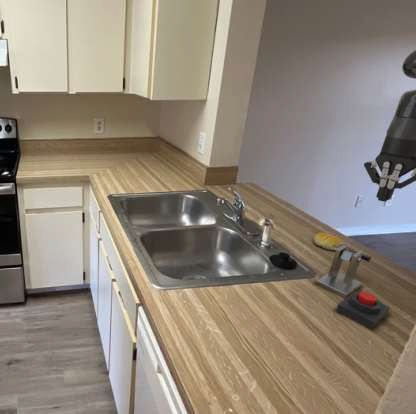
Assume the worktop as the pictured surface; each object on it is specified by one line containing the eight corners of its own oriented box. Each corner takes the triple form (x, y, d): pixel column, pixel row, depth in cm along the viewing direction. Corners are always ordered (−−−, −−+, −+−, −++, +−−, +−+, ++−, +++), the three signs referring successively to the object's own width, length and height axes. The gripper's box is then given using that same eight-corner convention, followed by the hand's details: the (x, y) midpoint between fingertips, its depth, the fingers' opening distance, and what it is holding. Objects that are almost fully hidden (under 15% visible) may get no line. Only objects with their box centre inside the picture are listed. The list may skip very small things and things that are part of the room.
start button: (360, 295, 89) (363, 290, 88) (377, 302, 86) (379, 297, 85) (355, 300, 87) (357, 294, 86) (371, 308, 84) (373, 302, 83)
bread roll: (322, 237, 125) (325, 228, 124) (346, 248, 118) (350, 238, 116) (307, 241, 123) (309, 231, 121) (330, 253, 115) (333, 242, 113)
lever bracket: (331, 272, 104) (342, 240, 99) (360, 285, 98) (373, 251, 93) (315, 283, 99) (326, 249, 94) (345, 298, 93) (358, 262, 88)
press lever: (348, 254, 103) (351, 247, 103) (368, 262, 99) (372, 255, 99) (333, 255, 96) (337, 248, 96) (355, 264, 92) (359, 256, 91)
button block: (352, 297, 93) (357, 285, 92) (387, 313, 87) (392, 301, 86) (336, 310, 88) (340, 298, 87) (371, 329, 82) (377, 316, 80)
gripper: (447, 138, 78) (419, 205, 85) (379, 129, 88) (359, 190, 95) (437, 142, 74) (408, 212, 81) (368, 133, 85) (347, 195, 91)
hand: (382, 200), depth 88 cm, fingers closed
